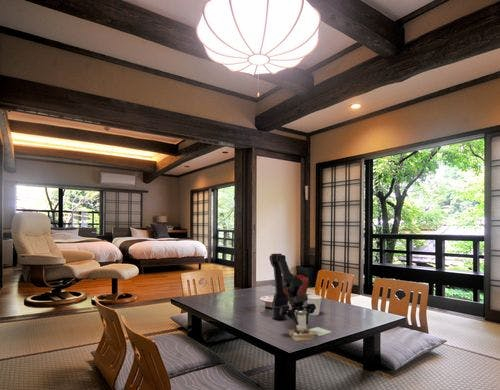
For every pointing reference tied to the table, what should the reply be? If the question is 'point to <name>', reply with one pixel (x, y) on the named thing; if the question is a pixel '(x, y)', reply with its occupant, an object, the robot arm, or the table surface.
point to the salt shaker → (301, 321)
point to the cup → (314, 300)
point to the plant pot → (303, 287)
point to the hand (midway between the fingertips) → (302, 324)
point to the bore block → (301, 335)
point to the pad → (319, 331)
